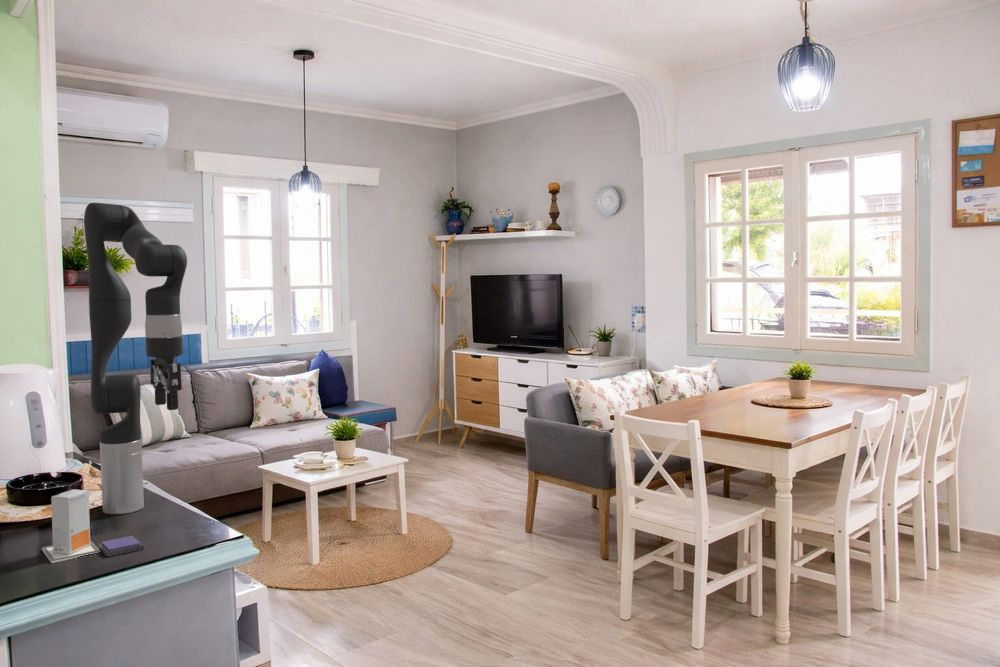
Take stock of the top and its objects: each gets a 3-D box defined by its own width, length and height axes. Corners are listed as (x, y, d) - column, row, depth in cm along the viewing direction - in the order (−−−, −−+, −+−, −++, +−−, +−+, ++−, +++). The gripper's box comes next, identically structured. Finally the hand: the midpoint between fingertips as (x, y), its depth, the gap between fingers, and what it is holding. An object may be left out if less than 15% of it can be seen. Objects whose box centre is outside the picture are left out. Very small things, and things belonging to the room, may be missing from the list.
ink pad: (99, 548, 169) (98, 541, 169) (134, 541, 173) (133, 534, 173) (107, 557, 163) (107, 550, 163) (143, 549, 168) (143, 543, 168)
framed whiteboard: (42, 549, 168) (42, 547, 168) (89, 540, 173) (89, 538, 173) (51, 563, 160) (51, 560, 160) (100, 553, 166) (100, 550, 166)
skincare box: (70, 555, 163) (67, 497, 162) (52, 553, 164) (49, 496, 164) (91, 545, 169) (89, 490, 168) (74, 543, 170) (72, 488, 169)
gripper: (136, 333, 180) (139, 405, 181) (155, 337, 169) (158, 413, 170) (171, 332, 185) (173, 401, 186) (191, 335, 174) (194, 409, 175)
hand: (166, 407), depth 178 cm, fingers open, 8 cm apart
